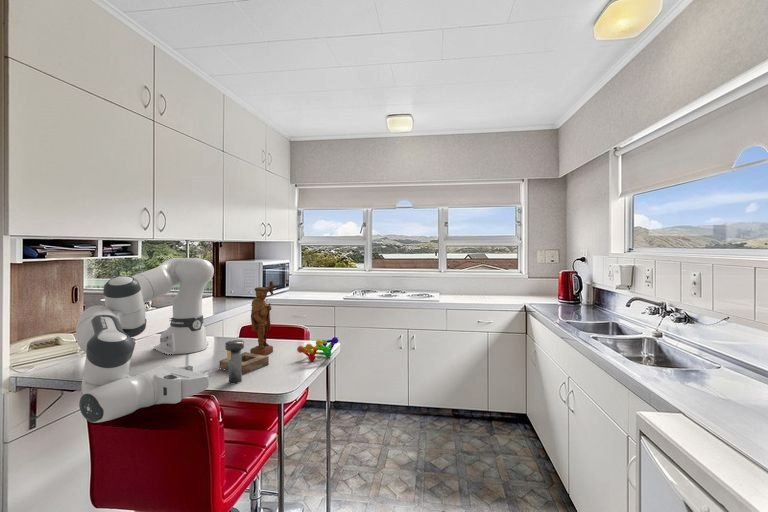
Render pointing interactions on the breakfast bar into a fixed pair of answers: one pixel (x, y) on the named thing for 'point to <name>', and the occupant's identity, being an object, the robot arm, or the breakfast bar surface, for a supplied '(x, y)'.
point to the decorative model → (318, 348)
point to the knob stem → (234, 360)
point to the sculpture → (261, 319)
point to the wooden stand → (248, 362)
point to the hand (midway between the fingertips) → (201, 370)
